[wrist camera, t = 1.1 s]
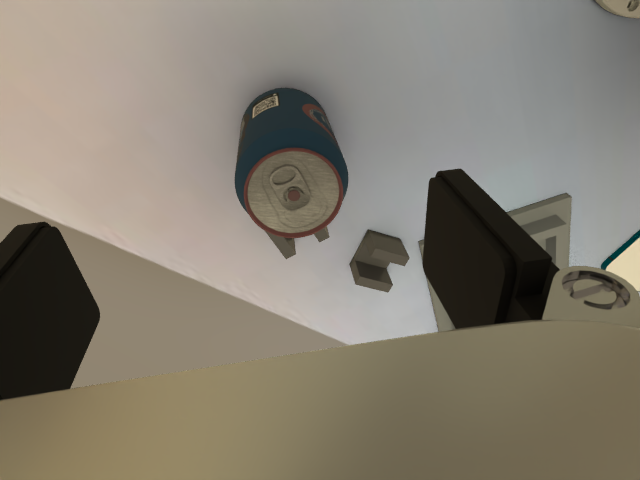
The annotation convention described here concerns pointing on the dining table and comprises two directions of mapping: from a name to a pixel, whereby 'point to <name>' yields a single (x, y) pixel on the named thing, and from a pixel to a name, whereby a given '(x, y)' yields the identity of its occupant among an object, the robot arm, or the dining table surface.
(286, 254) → the clip
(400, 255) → the clip
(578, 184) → the dining table surface
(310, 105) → the soda can
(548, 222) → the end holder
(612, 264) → the smartphone
